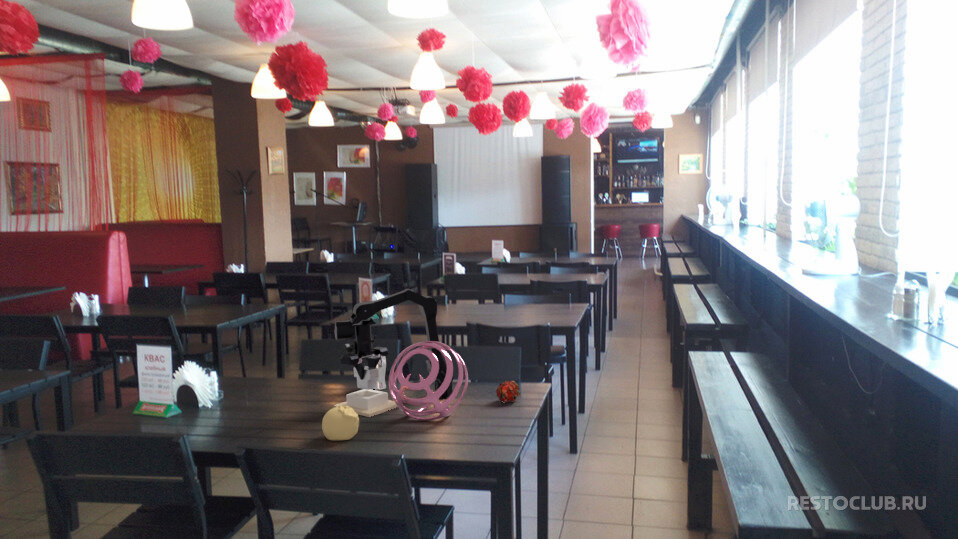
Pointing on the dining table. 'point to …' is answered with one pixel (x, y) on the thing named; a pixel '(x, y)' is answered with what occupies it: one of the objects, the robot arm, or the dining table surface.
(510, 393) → the dragon fruit
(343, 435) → the sculpture
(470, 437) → the dining table surface
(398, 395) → the pink openwork sphere
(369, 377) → the grey wooden block
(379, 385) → the beer glass
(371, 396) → the cream square frame
